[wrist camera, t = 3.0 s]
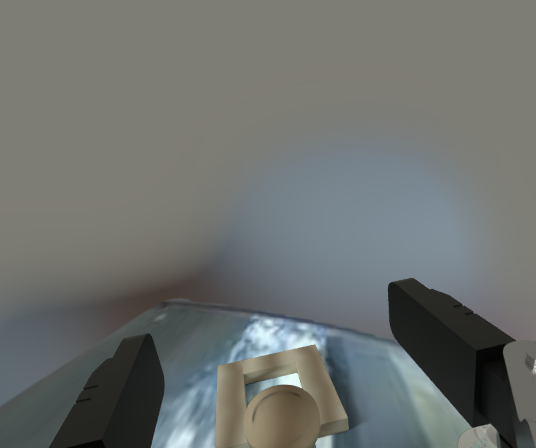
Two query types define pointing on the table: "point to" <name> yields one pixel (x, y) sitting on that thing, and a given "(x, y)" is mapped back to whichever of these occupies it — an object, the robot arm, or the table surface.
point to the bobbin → (282, 419)
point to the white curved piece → (479, 437)
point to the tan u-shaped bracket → (266, 367)
